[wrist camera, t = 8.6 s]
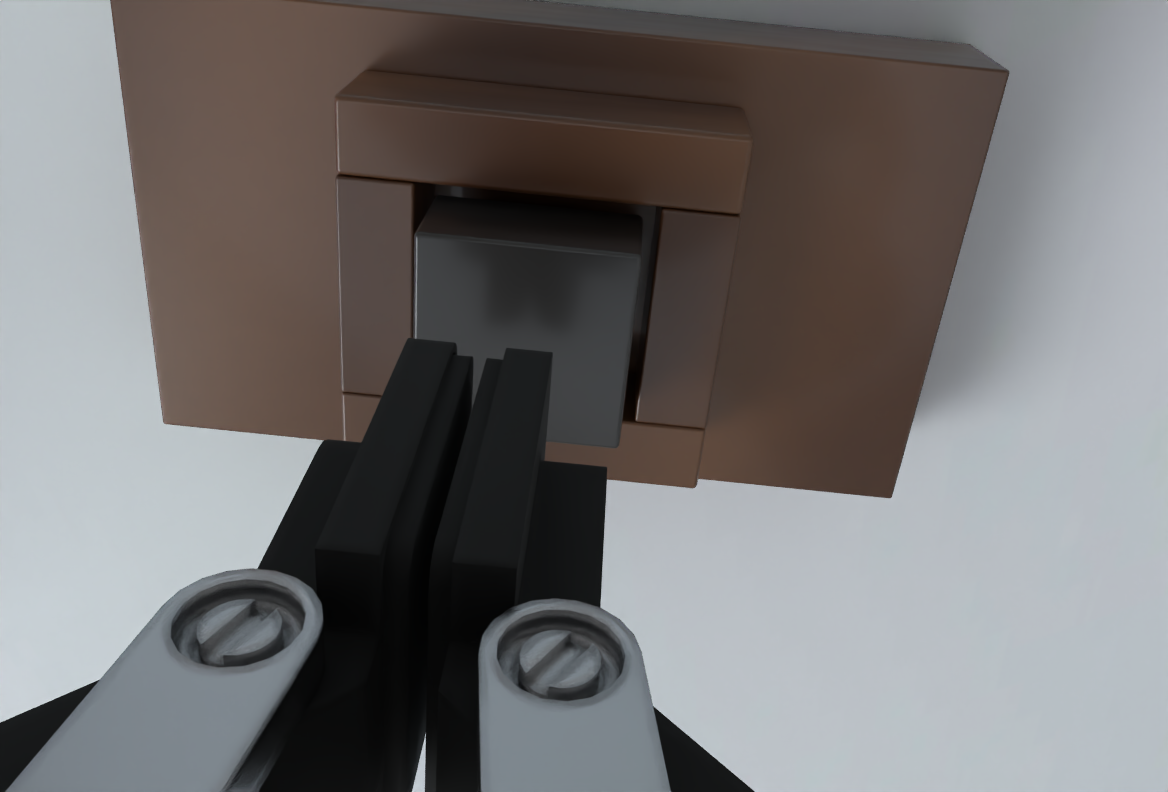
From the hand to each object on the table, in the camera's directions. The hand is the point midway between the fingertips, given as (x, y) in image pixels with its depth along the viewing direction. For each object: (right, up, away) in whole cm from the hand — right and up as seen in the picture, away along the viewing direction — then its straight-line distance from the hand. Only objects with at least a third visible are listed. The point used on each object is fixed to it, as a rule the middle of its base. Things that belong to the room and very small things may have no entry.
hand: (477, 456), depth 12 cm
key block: (+1, +4, +8) cm, 9 cm away
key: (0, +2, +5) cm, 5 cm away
